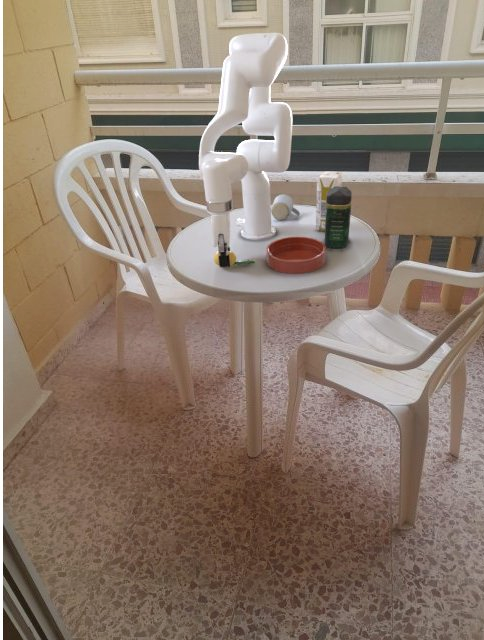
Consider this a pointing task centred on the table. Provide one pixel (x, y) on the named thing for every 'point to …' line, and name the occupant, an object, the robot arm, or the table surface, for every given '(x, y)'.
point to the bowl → (296, 255)
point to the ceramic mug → (283, 208)
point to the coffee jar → (337, 217)
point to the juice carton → (323, 186)
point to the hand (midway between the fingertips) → (225, 262)
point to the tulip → (232, 259)
